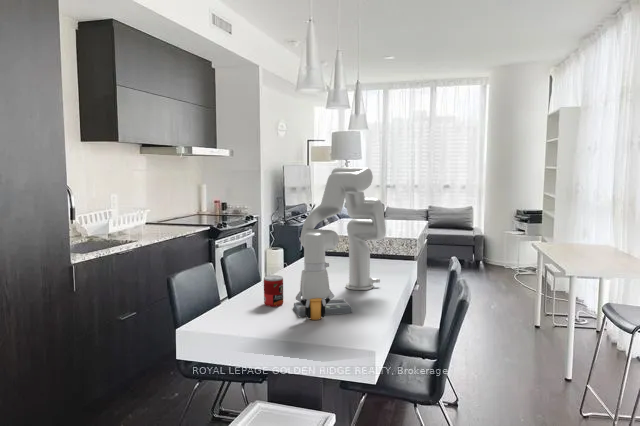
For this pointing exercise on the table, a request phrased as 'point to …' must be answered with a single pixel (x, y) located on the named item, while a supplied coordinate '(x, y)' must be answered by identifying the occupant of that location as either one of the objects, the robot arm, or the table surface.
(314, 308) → the orange pill bottle
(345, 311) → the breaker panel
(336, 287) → the table surface
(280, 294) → the canned food
